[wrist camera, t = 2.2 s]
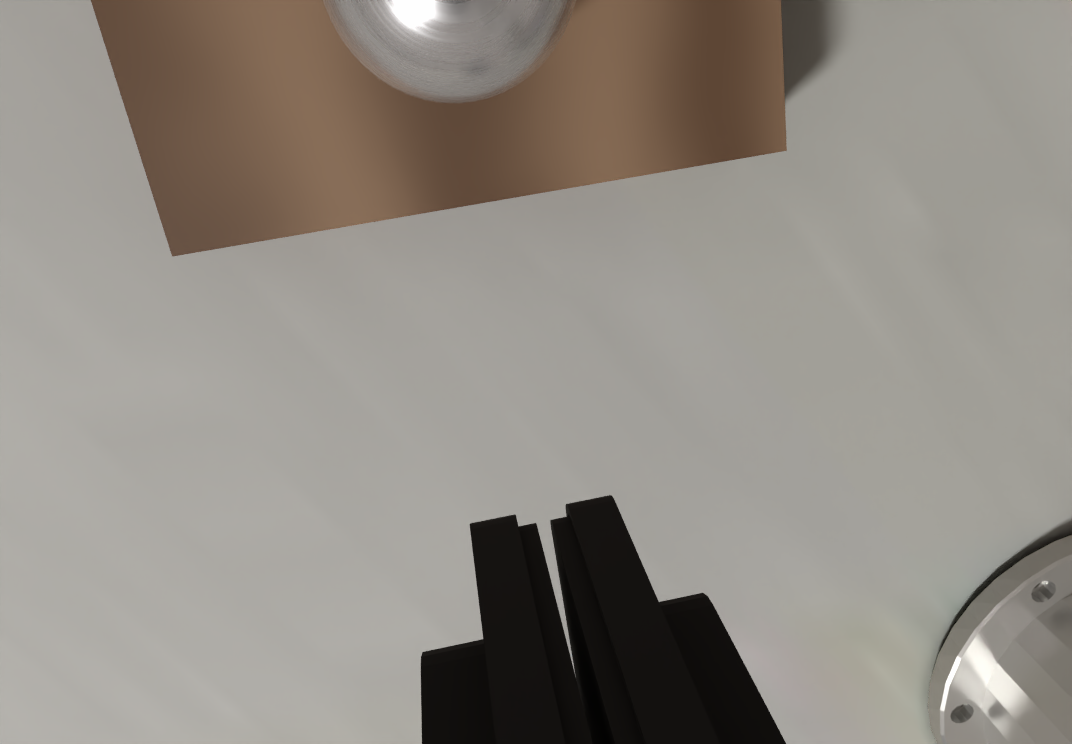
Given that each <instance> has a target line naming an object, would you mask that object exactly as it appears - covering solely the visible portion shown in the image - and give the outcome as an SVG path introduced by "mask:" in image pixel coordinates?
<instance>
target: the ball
mask: <svg viewBox="0 0 1072 744" xmlns="http://www.w3.org/2000/svg"><path fill="white" fill-rule="evenodd" d="M323 2H324V5H325V8H326V10H327V12H328V15H329V17H330V20H331V22H332V24H333V25H334V27H335V29H336V31H337V33H338V34H339V36H340V38H341V39H342V41H343V42H344V43H345V45H346V46H347V47H348V49H349V50H350V52H351V53H352V54H353V55H354V56H355V57H356V58H357V59H358V60H359V61H360V63H361V64H362V65H363V66H364V67H365V68H367V69H368V70H369V71H370V72H371V73H373V74H374V75H375V76H376V77H377V78H379V79H380V80H382V81H383V82H385V83H387V84H388V85H390V86H391V87H393V88H395V89H397V90H399V91H401V92H404V93H406V94H408V95H411V96H414V97H417V98H420V99H423V100H428V101H434V102H439V103H465V102H474V101H478V100H483V99H487V98H490V97H493V96H495V95H498V94H501V93H503V92H505V91H507V90H509V89H511V88H513V87H514V86H516V85H518V84H519V83H521V82H522V81H523V80H525V79H526V78H527V77H529V76H530V75H532V74H533V73H534V72H535V71H536V70H537V69H538V68H539V67H540V66H541V65H542V64H543V63H544V62H545V60H546V59H547V58H548V57H549V55H550V54H551V53H552V52H553V50H554V49H555V47H556V46H557V44H558V42H559V41H560V39H561V37H562V36H563V34H564V32H565V30H566V27H567V25H568V23H569V21H570V18H571V15H572V12H573V9H574V5H575V2H576V0H323Z"/></svg>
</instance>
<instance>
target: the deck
mask: <svg viewBox="0 0 1072 744" xmlns="http://www.w3.org/2000/svg"><path fill="white" fill-rule="evenodd" d="M91 2H92V5H93V8H94V11H95V15H96V18H97V21H98V24H99V27H100V30H101V33H102V37H103V40H104V43H105V46H106V49H107V52H108V56H109V59H110V62H111V65H112V68H113V71H114V74H115V78H116V81H117V84H118V87H119V90H120V93H121V96H122V100H123V103H124V106H125V109H126V112H127V115H128V118H129V122H130V125H131V128H132V131H133V134H134V137H135V141H136V144H137V147H138V150H139V153H140V156H141V159H142V163H143V166H144V169H145V172H146V175H147V178H148V181H149V185H150V188H151V191H152V194H153V197H154V200H155V203H156V207H157V210H158V213H159V216H160V219H161V222H162V226H163V229H164V232H165V235H166V238H167V241H168V244H169V248H170V251H171V254H172V256H178V255H183V254H189V253H195V252H201V251H207V250H212V249H218V248H224V247H230V246H236V245H241V244H247V243H253V242H259V241H265V240H270V239H276V238H282V237H288V236H294V235H299V234H305V233H311V232H317V231H323V230H328V229H334V228H340V227H346V226H352V225H357V224H363V223H369V222H375V221H381V220H386V219H392V218H398V217H404V216H410V215H415V214H421V213H427V212H433V211H439V210H444V209H450V208H456V207H462V206H468V205H474V204H479V203H485V202H491V201H497V200H503V199H508V198H514V197H520V196H526V195H532V194H537V193H543V192H549V191H555V190H561V189H566V188H572V187H578V186H584V185H590V184H595V183H601V182H607V181H613V180H619V179H624V178H630V177H636V176H642V175H648V174H653V173H659V172H665V171H671V170H677V169H682V168H688V167H694V166H700V165H706V164H711V163H717V162H723V161H729V160H735V159H740V158H746V157H752V156H758V155H764V154H769V153H775V152H781V151H787V149H786V123H785V96H784V69H783V42H782V15H781V0H576V2H575V5H574V9H573V12H572V15H571V18H570V21H569V23H568V25H567V27H566V30H565V32H564V34H563V36H562V37H561V39H560V41H559V42H558V44H557V46H556V47H555V49H554V50H553V52H552V53H551V54H550V55H549V57H548V58H547V59H546V60H545V62H544V63H543V64H542V65H541V66H540V67H539V68H538V69H537V70H536V71H535V72H534V73H533V74H532V75H530V76H529V77H527V78H526V79H525V80H523V81H522V82H521V83H519V84H518V85H516V86H514V87H513V88H511V89H509V90H507V91H505V92H503V93H501V94H498V95H495V96H493V97H490V98H487V99H483V100H478V101H474V102H465V103H439V102H434V101H428V100H423V99H420V98H417V97H414V96H411V95H408V94H406V93H404V92H401V91H399V90H397V89H395V88H393V87H391V86H390V85H388V84H387V83H385V82H383V81H382V80H380V79H379V78H377V77H376V76H375V75H374V74H373V73H371V72H370V71H369V70H368V69H367V68H365V67H364V66H363V65H362V64H361V63H360V61H359V60H358V59H357V58H356V57H355V56H354V55H353V54H352V53H351V52H350V50H349V49H348V47H347V46H346V45H345V43H344V42H343V41H342V39H341V38H340V36H339V34H338V33H337V31H336V29H335V27H334V25H333V24H332V22H331V20H330V17H329V15H328V12H327V10H326V8H325V5H324V2H323V0H91Z"/></svg>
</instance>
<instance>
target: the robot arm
mask: <svg viewBox="0 0 1072 744" xmlns="http://www.w3.org/2000/svg"><path fill="white" fill-rule="evenodd" d="M566 515H567V517H563V518H558V519H554V520H551V530H552V536H553V542H554V548H555V554H556V560H557V566H558V572H559V578H560V584H561V590H562V596H563V602H564V608H565V615H566V621H567V627H568V633H569V639H570V645H571V651H572V657H573V663H574V669H575V673H574V669H573V665H572V661H571V657H570V653H569V650H568V646H567V642H566V638H565V634H564V630H563V626H562V622H561V618H560V614H559V610H558V606H557V603H556V599H555V595H554V591H553V587H552V583H551V579H550V575H549V571H548V567H547V563H546V559H545V556H544V552H543V548H542V544H541V540H540V536H539V532H538V528H537V525H536V523H534V524H529V525H524V526H519V527H518V523H517V519H516V515H510V516H505V517H500V518H495V519H490V520H486V521H481V522H476V523H471V524H470V531H471V539H472V547H473V556H474V564H475V572H476V581H477V589H478V597H479V606H480V614H481V622H482V631H483V640H478V641H473V642H468V643H464V644H459V645H454V646H450V647H445V648H440V649H435V650H431V651H426V652H423V653H422V656H421V706H422V744H786V743H785V741H784V739H783V737H782V735H781V733H780V731H779V729H778V727H777V725H776V724H775V722H774V720H773V718H772V716H771V714H770V712H769V710H768V708H767V706H766V705H765V703H764V701H763V699H762V697H761V695H760V693H759V691H758V689H757V687H756V686H755V684H754V682H753V680H752V678H751V676H750V674H749V672H748V670H747V668H746V667H745V665H744V663H743V661H742V659H741V657H740V655H739V653H738V651H737V649H736V648H735V646H734V644H733V642H732V640H731V638H730V636H729V634H728V632H727V630H726V629H725V627H724V625H723V623H722V621H721V619H720V617H719V615H718V613H717V611H716V610H715V608H714V606H713V604H712V602H711V601H710V599H709V598H708V596H707V595H705V594H704V593H700V594H695V595H691V596H686V597H681V598H676V599H672V600H667V601H662V602H658V599H657V597H656V595H655V592H654V590H653V588H652V586H651V583H650V581H649V579H648V576H647V574H646V572H645V569H644V567H643V565H642V562H641V560H640V558H639V556H638V553H637V551H636V549H635V546H634V544H633V542H632V539H631V537H630V535H629V533H628V530H627V528H626V526H625V523H624V521H623V519H622V516H621V514H620V512H619V509H618V507H617V505H616V503H615V500H614V498H613V497H612V496H611V495H609V496H604V497H599V498H595V499H590V500H585V501H580V502H575V503H570V504H566ZM575 675H576V677H575ZM928 713H929V719H930V726H931V731H932V733H933V735H934V737H935V740H936V742H937V744H1072V535H1070V536H1067V537H1065V538H1062V539H1059V540H1057V541H1054V542H1052V543H1050V544H1049V545H1047V546H1045V547H1043V548H1041V549H1039V550H1037V551H1036V552H1034V553H1032V554H1030V555H1028V556H1026V557H1024V558H1023V559H1022V560H1020V561H1019V562H1017V563H1016V564H1015V565H1013V566H1012V567H1011V568H1009V569H1008V570H1007V571H1005V572H1004V573H1003V574H1001V575H1000V576H998V577H997V578H996V579H995V580H994V581H993V582H992V583H991V584H990V585H989V586H988V587H987V588H986V589H985V590H984V591H982V592H981V593H980V594H979V595H978V596H977V597H976V598H975V599H974V600H973V601H972V602H971V604H970V605H969V606H968V608H967V609H966V610H965V612H964V613H963V614H962V616H961V617H960V618H959V620H958V621H957V622H956V624H955V625H954V626H953V628H952V629H951V631H950V633H949V635H948V637H947V639H946V641H945V643H944V645H943V647H942V648H941V650H940V652H939V654H938V657H937V660H936V663H935V666H934V670H933V673H932V676H931V679H930V685H929V697H928Z"/></svg>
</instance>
